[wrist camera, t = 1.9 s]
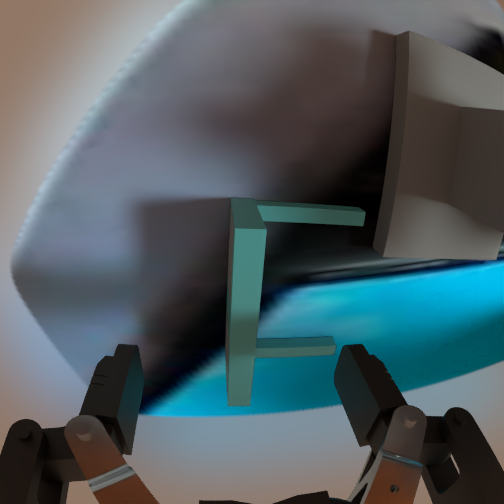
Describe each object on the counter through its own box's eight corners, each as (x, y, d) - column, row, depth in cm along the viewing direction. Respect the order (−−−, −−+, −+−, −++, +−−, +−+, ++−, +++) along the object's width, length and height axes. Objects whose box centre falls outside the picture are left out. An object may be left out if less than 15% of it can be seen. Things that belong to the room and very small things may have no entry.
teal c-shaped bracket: (358, 205, 18) (402, 235, 13) (329, 346, 21) (352, 397, 17) (230, 197, 17) (234, 228, 12) (225, 349, 21) (227, 406, 16)
